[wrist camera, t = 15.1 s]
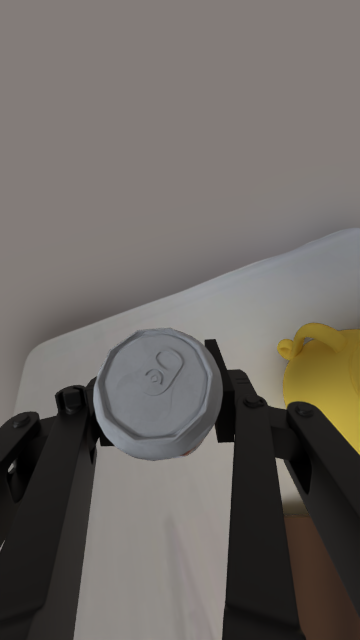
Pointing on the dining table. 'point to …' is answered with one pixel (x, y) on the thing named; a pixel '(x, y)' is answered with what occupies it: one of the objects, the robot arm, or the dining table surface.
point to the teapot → (326, 375)
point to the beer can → (158, 394)
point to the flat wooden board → (318, 585)
